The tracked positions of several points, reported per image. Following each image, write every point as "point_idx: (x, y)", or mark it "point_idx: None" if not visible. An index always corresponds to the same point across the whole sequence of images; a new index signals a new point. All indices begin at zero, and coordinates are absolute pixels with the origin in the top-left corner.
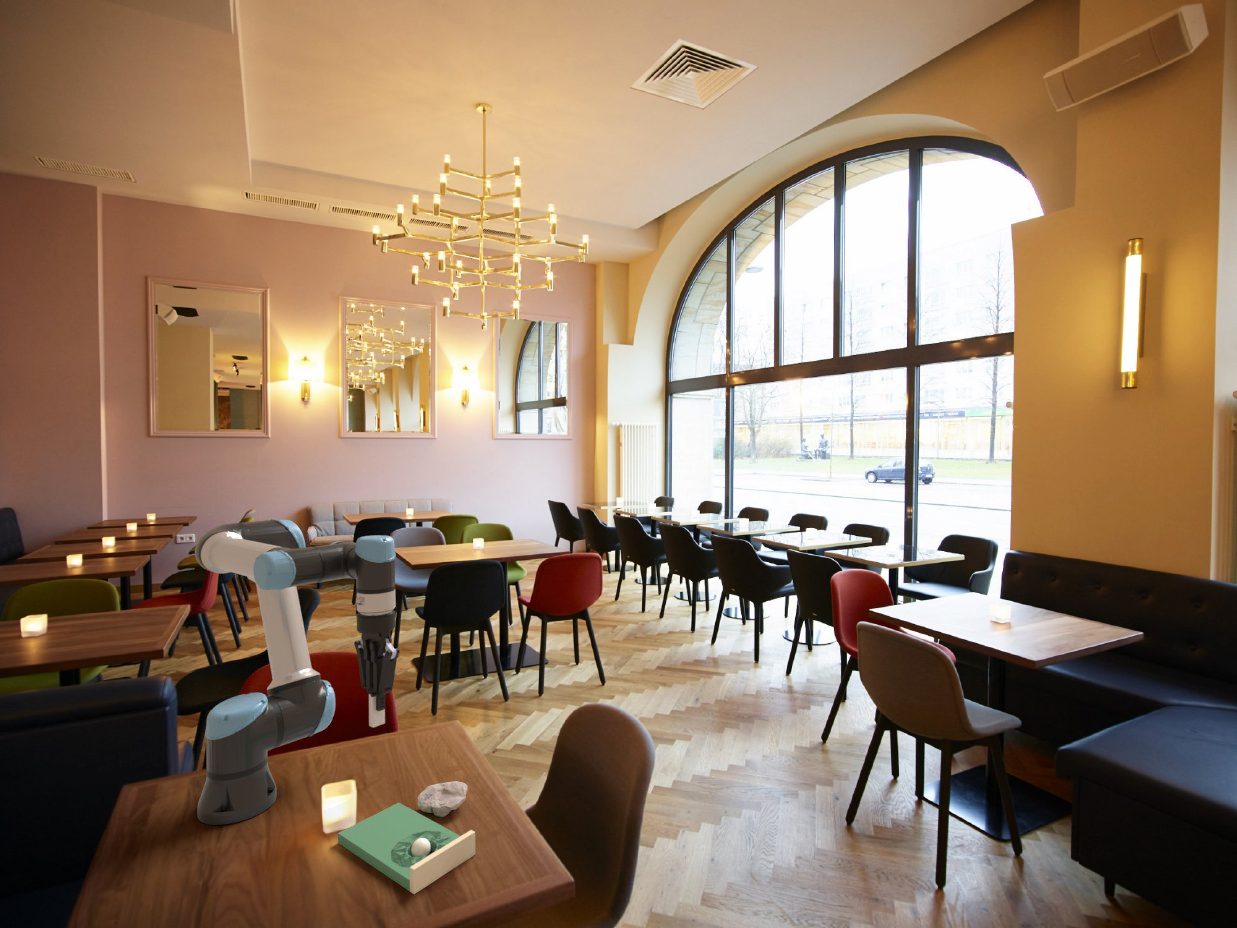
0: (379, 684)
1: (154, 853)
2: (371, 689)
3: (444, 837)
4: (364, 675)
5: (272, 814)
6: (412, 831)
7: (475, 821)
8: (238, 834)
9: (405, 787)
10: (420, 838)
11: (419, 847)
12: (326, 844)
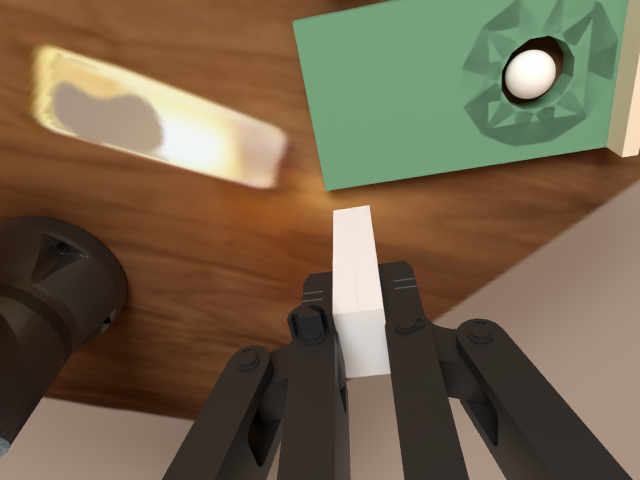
0: (487, 444)
1: (158, 378)
2: (345, 386)
3: (548, 4)
4: (261, 477)
5: (129, 240)
6: (453, 59)
7: None
8: (172, 295)
9: None
10: (533, 77)
11: (547, 89)
12: (314, 199)
